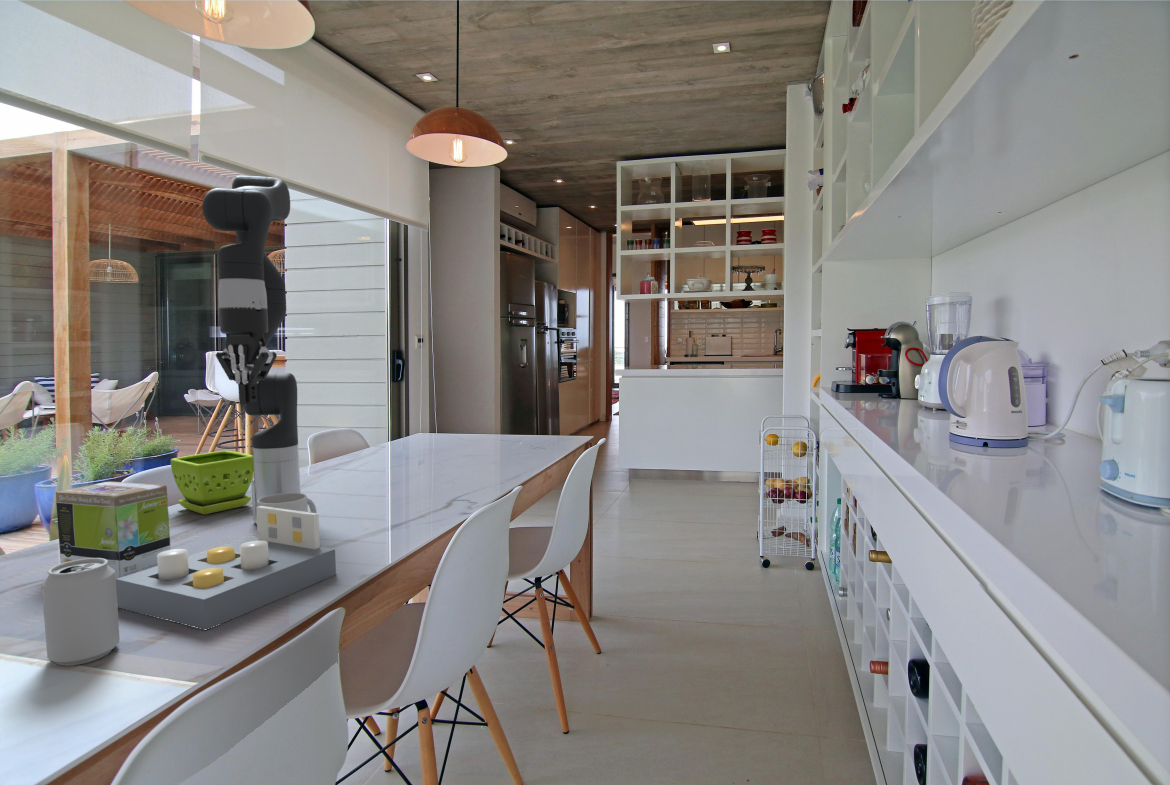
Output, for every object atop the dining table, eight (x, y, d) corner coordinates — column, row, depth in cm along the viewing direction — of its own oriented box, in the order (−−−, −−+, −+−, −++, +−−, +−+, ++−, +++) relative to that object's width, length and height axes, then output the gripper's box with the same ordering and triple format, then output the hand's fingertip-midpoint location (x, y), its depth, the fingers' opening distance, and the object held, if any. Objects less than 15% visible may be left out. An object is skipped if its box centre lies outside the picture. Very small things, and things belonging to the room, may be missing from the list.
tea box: (174, 563, 121) (169, 483, 120) (119, 582, 111) (113, 496, 110) (115, 555, 126) (110, 478, 124) (58, 573, 116) (52, 490, 115)
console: (117, 607, 101) (113, 540, 100) (254, 559, 122) (251, 503, 121) (205, 630, 92) (201, 557, 91) (336, 574, 114) (333, 514, 113)
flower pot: (171, 510, 159) (168, 458, 158) (230, 498, 170) (227, 449, 169) (199, 518, 151) (196, 463, 150) (259, 505, 162) (256, 454, 161)
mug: (260, 558, 123) (257, 505, 122) (258, 544, 131) (256, 495, 130) (322, 549, 128) (320, 498, 127) (317, 536, 136) (315, 488, 135)
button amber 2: (188, 607, 98) (186, 575, 98) (213, 598, 102) (211, 566, 101) (206, 612, 97) (204, 579, 96) (231, 602, 100) (229, 570, 100)
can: (73, 642, 89) (67, 555, 88) (132, 640, 90) (126, 553, 89) (32, 670, 82) (24, 575, 81) (96, 667, 82) (89, 573, 81)
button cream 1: (153, 586, 101) (151, 555, 101) (178, 578, 105) (176, 547, 105) (170, 590, 100) (168, 558, 99) (195, 581, 103) (193, 550, 103)
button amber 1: (202, 582, 109) (201, 552, 108) (225, 574, 112) (223, 545, 112) (219, 585, 107) (217, 555, 107) (241, 577, 111) (239, 548, 110)
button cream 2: (235, 577, 105) (234, 546, 105) (257, 568, 109) (255, 539, 109) (253, 580, 104) (251, 549, 103) (274, 572, 107) (273, 542, 107)
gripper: (197, 306, 115) (203, 406, 116) (251, 304, 109) (256, 408, 111) (236, 308, 122) (241, 402, 123) (288, 306, 116) (292, 404, 118)
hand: (248, 405), depth 117 cm, fingers closed
